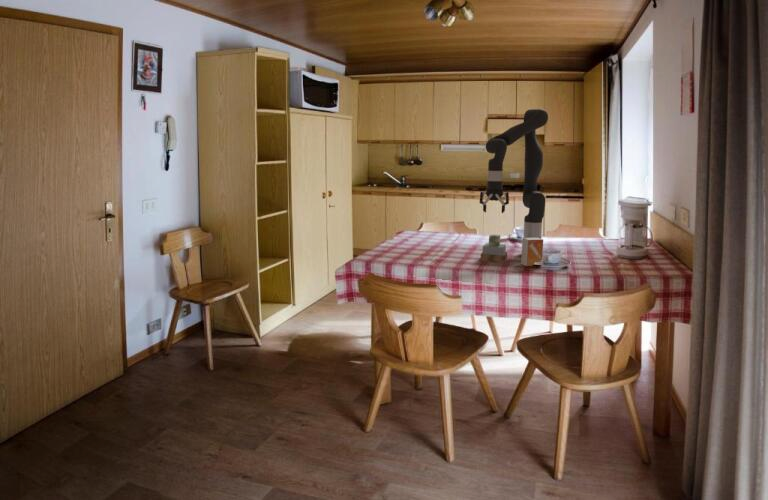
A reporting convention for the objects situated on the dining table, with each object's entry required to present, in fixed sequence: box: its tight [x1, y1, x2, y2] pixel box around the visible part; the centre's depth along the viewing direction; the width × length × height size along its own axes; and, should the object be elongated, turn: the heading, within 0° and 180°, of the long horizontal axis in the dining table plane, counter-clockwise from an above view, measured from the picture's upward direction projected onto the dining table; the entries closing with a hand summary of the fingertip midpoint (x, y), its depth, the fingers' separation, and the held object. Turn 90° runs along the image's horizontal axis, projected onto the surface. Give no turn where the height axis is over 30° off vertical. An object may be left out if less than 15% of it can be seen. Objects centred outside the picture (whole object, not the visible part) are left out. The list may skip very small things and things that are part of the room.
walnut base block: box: [479, 251, 508, 264], centre depth 306 cm, size 12×12×4 cm
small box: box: [520, 237, 544, 267], centre depth 293 cm, size 8×6×13 cm
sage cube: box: [488, 234, 501, 246], centre depth 304 cm, size 5×5×5 cm
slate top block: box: [482, 242, 507, 256], centre depth 305 cm, size 10×10×4 cm
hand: (493, 212), depth 302 cm, fingers open, 8 cm apart
